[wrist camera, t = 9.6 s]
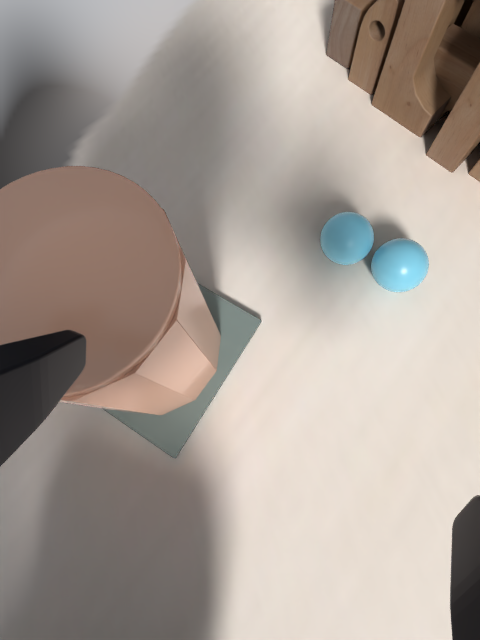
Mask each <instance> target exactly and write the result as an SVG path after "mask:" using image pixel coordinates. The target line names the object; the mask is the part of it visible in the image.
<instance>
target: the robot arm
mask: <svg viewBox="0 0 480 640" xmlns="http://www.w3.org/2000/svg"><path fill="white" fill-rule="evenodd" d="M85 364H86V337H85V336H84V335H83V334H80V333H78V332H75V331H73V330H63V331H59V332H55V333H50V334H46V335H41V336H37V337H33V338H28V339H24V340H20V341H15V342H11V343H6V344H2V345H0V466H1V465H2V464H3V463H4V462H5V461H6V460H7V459H8V458H9V457H10V456H11V455H12V454H13V453H14V452H15V451H16V450H17V449H18V448H19V446H20V445H21V444H22V443H23V442H24V441H25V440H26V439H27V438H28V437H29V436H30V435H31V434H32V433H33V432H34V431H35V430H36V429H37V428H38V427H39V425H40V424H41V423H42V422H43V421H44V420H45V419H46V417H47V416H48V415H49V414H50V413H51V411H52V410H53V409H54V407H55V406H56V405H57V404H58V402H59V401H60V400H61V398H62V397H63V396H64V395H65V393H66V392H67V391H68V389H69V388H70V387H71V386H72V384H73V383H74V382H75V380H76V379H77V378H78V377H79V375H80V374H81V373H82V371H83V369H84V367H85ZM450 609H451V625H452V638H453V640H480V495H477V496H475V497H473V498H472V499H471V500H470V502H469V503H468V504H467V505H466V506H465V507H464V508H463V510H462V511H461V512H460V513H459V514H458V515H457V517H456V518H455V520H454V523H453V528H452V556H451V587H450Z"/></svg>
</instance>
